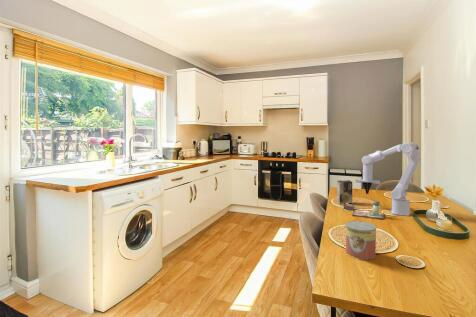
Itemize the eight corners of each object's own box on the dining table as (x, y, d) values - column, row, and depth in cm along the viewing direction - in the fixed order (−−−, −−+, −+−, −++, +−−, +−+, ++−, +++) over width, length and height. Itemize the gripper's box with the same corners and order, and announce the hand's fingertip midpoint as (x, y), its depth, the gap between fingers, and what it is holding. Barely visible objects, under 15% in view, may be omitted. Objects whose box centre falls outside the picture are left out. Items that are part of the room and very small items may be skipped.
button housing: (354, 208, 175) (354, 204, 175) (353, 210, 170) (353, 206, 170) (344, 207, 178) (344, 203, 178) (343, 209, 173) (343, 205, 173)
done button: (352, 207, 175) (352, 204, 175) (351, 208, 172) (351, 205, 172) (346, 206, 176) (346, 204, 176) (346, 208, 174) (346, 205, 173)
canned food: (342, 255, 108) (342, 226, 107) (349, 245, 117) (350, 219, 116) (372, 262, 101) (373, 232, 100) (378, 252, 110) (378, 224, 109)
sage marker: (379, 214, 158) (380, 201, 157) (378, 215, 155) (379, 202, 154) (372, 213, 160) (373, 200, 159) (372, 214, 157) (372, 201, 156)
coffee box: (349, 202, 192) (349, 180, 191) (352, 204, 186) (352, 181, 185) (336, 201, 193) (336, 180, 192) (339, 204, 187) (339, 181, 186)
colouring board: (383, 214, 162) (383, 212, 161) (383, 219, 151) (383, 217, 151) (354, 210, 170) (354, 209, 170) (352, 215, 159) (352, 214, 159)
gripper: (355, 173, 175) (354, 193, 176) (379, 175, 168) (379, 196, 169) (356, 172, 181) (355, 191, 182) (380, 173, 174) (379, 193, 175)
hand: (367, 193), depth 176 cm, fingers closed
